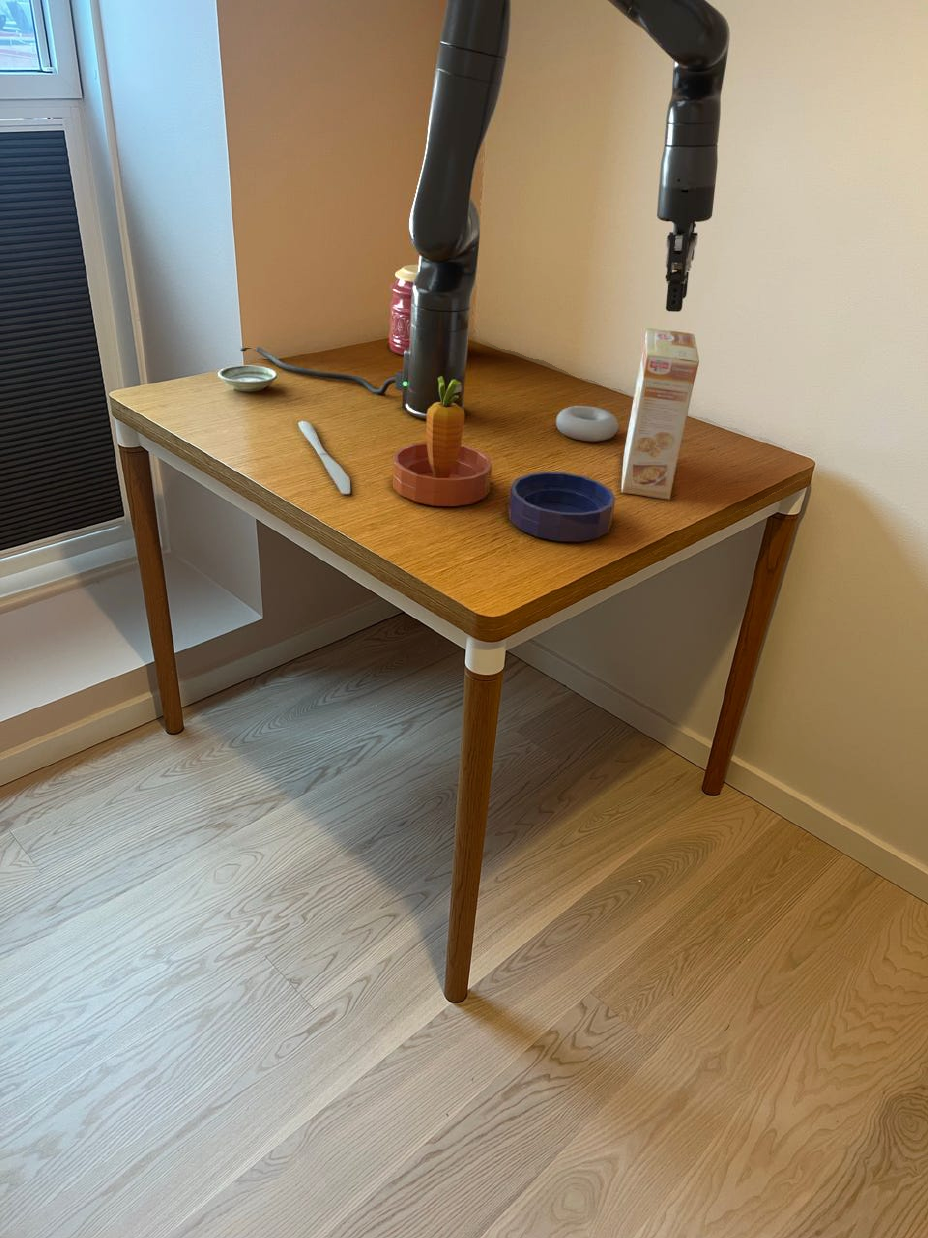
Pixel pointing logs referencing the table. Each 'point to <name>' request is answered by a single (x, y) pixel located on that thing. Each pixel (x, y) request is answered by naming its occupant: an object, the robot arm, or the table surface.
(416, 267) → the kitchen canister
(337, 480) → the butter knife
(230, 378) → the saucer
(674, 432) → the coffeecake box
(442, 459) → the carrot
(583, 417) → the donut
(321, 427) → the table surface
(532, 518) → the indigo bowl
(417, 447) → the terracotta bowl
